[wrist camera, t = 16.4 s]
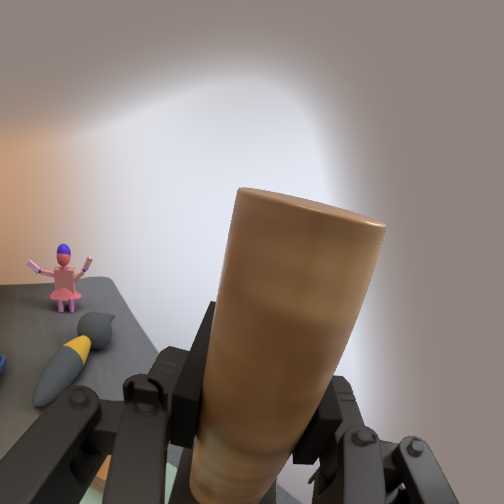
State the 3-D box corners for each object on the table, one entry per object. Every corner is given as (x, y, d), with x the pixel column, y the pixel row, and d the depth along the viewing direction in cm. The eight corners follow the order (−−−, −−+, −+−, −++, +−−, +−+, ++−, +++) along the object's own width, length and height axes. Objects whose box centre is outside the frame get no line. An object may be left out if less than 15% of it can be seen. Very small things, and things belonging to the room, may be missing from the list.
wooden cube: (138, 469, 17) (133, 447, 16) (124, 502, 13) (116, 485, 12) (97, 452, 17) (89, 429, 16) (81, 483, 13) (68, 462, 12)
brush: (264, 477, 13) (369, 215, 9) (262, 542, 8) (459, 252, 4) (183, 464, 13) (223, 180, 9) (166, 528, 8) (177, 182, 4)
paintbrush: (65, 426, 19) (53, 394, 18) (29, 408, 18) (16, 375, 17) (122, 333, 38) (121, 304, 37) (94, 325, 37) (92, 296, 36)
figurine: (31, 302, 36) (26, 240, 33) (92, 303, 43) (92, 242, 40) (29, 312, 34) (22, 247, 31) (93, 312, 40) (93, 249, 38)
